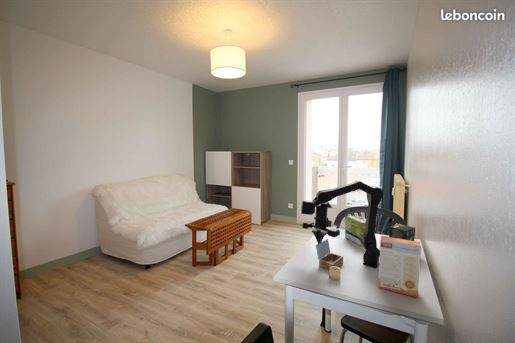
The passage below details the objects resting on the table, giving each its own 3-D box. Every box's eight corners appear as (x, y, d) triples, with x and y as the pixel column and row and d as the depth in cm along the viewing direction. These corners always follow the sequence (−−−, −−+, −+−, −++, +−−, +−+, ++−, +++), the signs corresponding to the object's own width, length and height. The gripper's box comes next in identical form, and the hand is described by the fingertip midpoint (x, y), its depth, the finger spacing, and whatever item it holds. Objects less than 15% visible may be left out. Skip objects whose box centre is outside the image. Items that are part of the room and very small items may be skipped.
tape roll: (342, 277, 107) (342, 268, 107) (337, 281, 104) (337, 272, 103) (332, 273, 111) (332, 264, 110) (327, 277, 107) (327, 268, 107)
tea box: (344, 237, 158) (345, 215, 157) (356, 236, 161) (357, 214, 160) (360, 246, 144) (361, 222, 143) (373, 244, 147) (374, 220, 146)
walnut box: (342, 263, 121) (343, 256, 121) (332, 271, 112) (332, 264, 112) (330, 258, 126) (330, 252, 125) (319, 266, 117) (319, 259, 117)
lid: (327, 239, 126) (326, 239, 126) (316, 245, 117) (315, 245, 118) (330, 252, 125) (329, 252, 126) (319, 259, 117) (318, 259, 117)
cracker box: (416, 290, 97) (420, 241, 96) (418, 298, 92) (421, 246, 90) (378, 281, 104) (381, 234, 103) (377, 287, 99) (380, 239, 98)
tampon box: (397, 246, 143) (398, 223, 142) (414, 252, 136) (415, 227, 134) (387, 250, 137) (389, 226, 136) (404, 256, 130) (406, 230, 129)
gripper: (345, 216, 121) (343, 246, 122) (313, 209, 134) (311, 235, 135) (335, 220, 113) (333, 252, 114) (302, 212, 126) (300, 240, 127)
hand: (319, 244), depth 123 cm, fingers closed
